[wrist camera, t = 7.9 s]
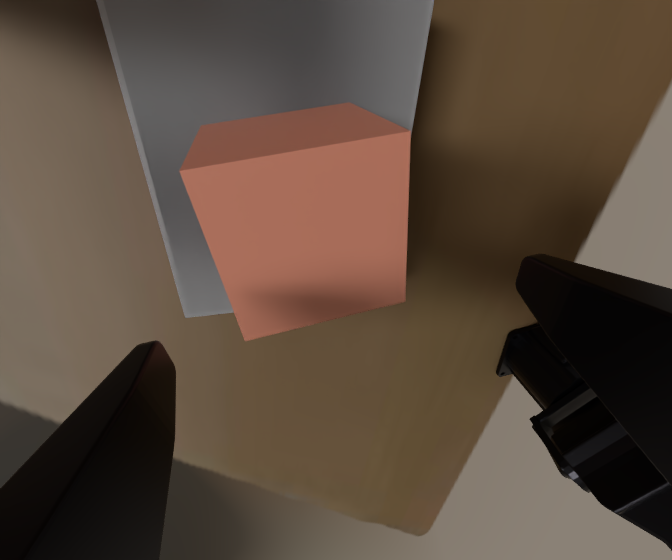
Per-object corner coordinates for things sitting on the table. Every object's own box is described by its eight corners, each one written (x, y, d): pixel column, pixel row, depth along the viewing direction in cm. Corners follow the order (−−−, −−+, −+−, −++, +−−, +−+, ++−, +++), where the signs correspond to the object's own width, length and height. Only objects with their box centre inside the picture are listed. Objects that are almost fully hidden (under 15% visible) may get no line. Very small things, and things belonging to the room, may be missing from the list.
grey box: (364, 261, 23) (383, 295, 20) (193, 276, 21) (185, 317, 18) (395, -5, 15) (437, -18, 12) (118, -35, 12) (78, -62, 9)
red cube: (358, 231, 17) (405, 301, 12) (242, 255, 16) (245, 341, 11) (349, 102, 13) (410, 130, 9) (200, 125, 13) (178, 170, 8)
